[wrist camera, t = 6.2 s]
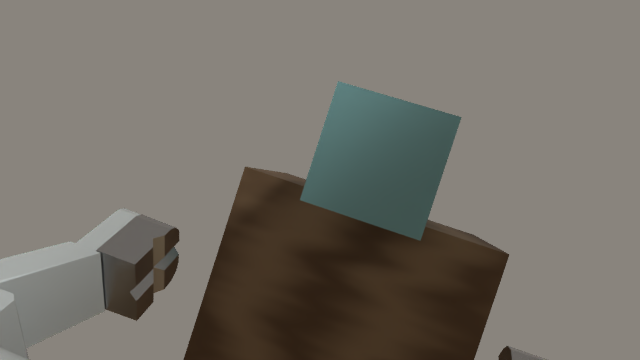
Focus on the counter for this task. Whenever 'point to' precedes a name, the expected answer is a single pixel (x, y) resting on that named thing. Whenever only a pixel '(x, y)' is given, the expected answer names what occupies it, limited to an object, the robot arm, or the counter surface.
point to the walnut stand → (339, 284)
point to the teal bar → (380, 159)
